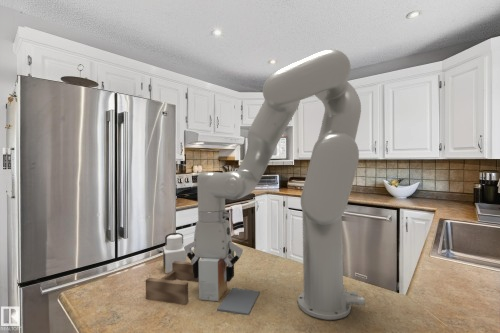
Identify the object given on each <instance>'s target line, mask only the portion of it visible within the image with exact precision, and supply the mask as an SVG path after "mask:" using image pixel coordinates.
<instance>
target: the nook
mask: <svg viewBox="0 0 500 333" xmlns="http://www.w3.org/2000/svg"><path fill="white" fill-rule="evenodd" d="M181 280H182V281H181ZM188 281H190V282H198V283H199V277H198V278H194V274H193V264H192V263H191V262H187V261H186V262H178V261H174V262H173V263H172V271H171V272H170V273H167V274H165V275H164V276H163V277H161V278H156V277H148V278H146V279H145V299H146V300H152V301H153V300H154V301H159V302H165V303H174V304H180V305H187V303H189V282H188Z"/></svg>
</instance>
